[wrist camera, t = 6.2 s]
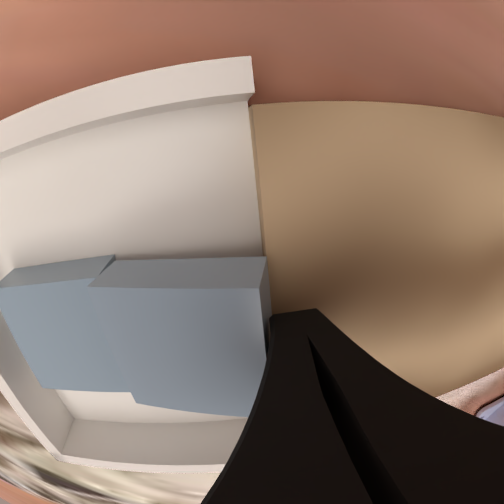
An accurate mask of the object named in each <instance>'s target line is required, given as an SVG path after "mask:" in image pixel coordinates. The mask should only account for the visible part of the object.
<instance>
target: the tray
mask: <svg viewBox="0 0 504 504" xmlns="http://www.w3.org/2000/svg"><path fill="white" fill-rule="evenodd" d="M254 93H255V88H254V79H253V69H252V60H251V56H242V57H231V58H222V59H214V60H206V61H199V62H192V63H186V64H180V65H174V66H169V67H163V68H158V69H154V70H149V71H144V72H140V73H136V74H131V75H127V76H123V77H119V78H116V79H112V80H108V81H105V82H101V83H98V84H94V85H91V86H88V87H85V88H82V89H79V90H75V91H73V92H70V93H67V94H64V95H61V96H58V97H55V98H53V99H50V100H47V101H45V102H42V103H40V104H37V105H35V106H32V107H30V108H28V109H25V110H23V111H21V112H18V113H16V114H14V115H12V116H9V117H7V118H5V119H3V120H1V121H0V281H1V280H2V279H3V278H4V277H5V276H6V275H7V274H8V273H10V272H11V271H12V270H13V269H14V268H21V267H28V266H35V265H41V264H48V263H55V262H62V261H69V260H76V259H84V258H91V257H98V256H105V255H113V254H115V258H116V260H154V259H191V258H226V257H260V256H263V252H262V242H261V231H260V221H259V210H258V200H257V190H256V179H255V169H254V159H253V150H252V140H251V130H250V120H249V111H248V100H249V99H250V97H251V96H252V95H253V94H254ZM0 391H1V392H2V394H3V395H4V397H5V398H6V399H7V401H8V402H9V404H10V405H11V406H12V408H13V409H14V410H15V412H16V413H17V414H18V416H19V417H20V418H21V420H22V421H23V422H24V423H25V425H26V426H27V427H28V428H29V430H30V431H31V432H32V433H33V434H34V436H35V437H36V438H37V439H38V440H39V441H40V443H41V444H42V445H43V446H44V447H45V448H46V449H47V450H48V451H49V453H50V454H51V455H52V456H53V457H54V458H55V459H56V460H57V461H62V462H67V463H72V464H78V465H84V466H90V467H97V468H105V469H113V470H123V471H135V472H150V473H219V472H222V470H223V468H224V466H225V465H226V463H227V461H228V459H229V457H230V455H231V453H232V451H233V449H234V447H235V446H236V444H237V442H238V440H239V438H240V435H241V433H242V431H243V429H244V426H245V424H246V422H247V420H248V417H238V416H225V415H214V414H205V413H196V412H188V411H180V410H173V409H167V408H161V407H155V406H149V405H143V404H138V403H136V402H135V400H134V398H133V396H132V394H131V392H92V391H73V390H59V389H47V388H42V386H41V385H40V383H39V382H38V380H37V378H36V377H35V375H34V373H33V372H32V370H31V368H30V367H29V365H28V363H27V361H26V360H25V358H24V356H23V354H22V352H21V351H20V349H19V347H18V345H17V343H16V341H15V339H14V337H13V335H12V333H11V331H10V329H9V327H8V325H7V323H6V321H5V319H4V317H3V315H2V312H1V310H0Z"/></svg>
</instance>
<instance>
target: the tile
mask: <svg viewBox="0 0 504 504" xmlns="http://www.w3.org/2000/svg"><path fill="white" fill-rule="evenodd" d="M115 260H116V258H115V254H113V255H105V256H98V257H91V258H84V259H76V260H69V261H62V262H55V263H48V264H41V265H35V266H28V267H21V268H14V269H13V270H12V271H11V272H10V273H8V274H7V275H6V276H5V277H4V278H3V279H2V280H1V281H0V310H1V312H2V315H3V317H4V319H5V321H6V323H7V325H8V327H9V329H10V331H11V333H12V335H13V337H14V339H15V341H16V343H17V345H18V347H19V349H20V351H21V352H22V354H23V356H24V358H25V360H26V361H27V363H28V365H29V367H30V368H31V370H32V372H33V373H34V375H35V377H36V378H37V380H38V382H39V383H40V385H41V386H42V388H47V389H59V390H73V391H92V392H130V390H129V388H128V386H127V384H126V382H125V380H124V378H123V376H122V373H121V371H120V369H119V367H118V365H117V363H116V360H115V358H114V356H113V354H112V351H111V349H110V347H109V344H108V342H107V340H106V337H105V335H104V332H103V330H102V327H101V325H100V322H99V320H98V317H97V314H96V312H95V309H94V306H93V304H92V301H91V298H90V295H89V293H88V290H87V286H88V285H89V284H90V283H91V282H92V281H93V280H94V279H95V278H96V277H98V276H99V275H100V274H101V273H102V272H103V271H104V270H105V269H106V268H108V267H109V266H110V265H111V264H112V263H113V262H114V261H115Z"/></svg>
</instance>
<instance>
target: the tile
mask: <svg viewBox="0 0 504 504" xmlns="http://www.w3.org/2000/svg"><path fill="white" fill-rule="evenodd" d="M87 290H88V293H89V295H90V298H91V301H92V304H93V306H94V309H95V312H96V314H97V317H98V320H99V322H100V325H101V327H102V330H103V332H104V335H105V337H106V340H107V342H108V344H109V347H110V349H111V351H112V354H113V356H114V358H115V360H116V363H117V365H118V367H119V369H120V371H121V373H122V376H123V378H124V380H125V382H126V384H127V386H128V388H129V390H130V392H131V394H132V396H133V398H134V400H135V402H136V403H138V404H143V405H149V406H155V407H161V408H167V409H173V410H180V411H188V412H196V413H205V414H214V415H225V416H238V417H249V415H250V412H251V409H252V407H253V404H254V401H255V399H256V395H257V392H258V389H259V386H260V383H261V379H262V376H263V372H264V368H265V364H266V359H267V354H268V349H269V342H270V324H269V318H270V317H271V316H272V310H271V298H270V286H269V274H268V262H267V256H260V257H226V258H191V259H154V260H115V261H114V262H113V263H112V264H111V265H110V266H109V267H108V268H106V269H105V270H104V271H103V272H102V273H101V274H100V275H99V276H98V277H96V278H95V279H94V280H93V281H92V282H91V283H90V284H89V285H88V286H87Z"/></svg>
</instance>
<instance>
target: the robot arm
mask: <svg viewBox="0 0 504 504" xmlns="http://www.w3.org/2000/svg"><path fill="white" fill-rule="evenodd" d="M269 324H270V342H269V349H268V354H267V359H266V364H265V368H264V372H263V376H262V379H261V383H260V386H259V389H258V392H257V395H256V399H255V401H254V404H253V407H252V409H251V412H250V415H249V417H248V420H247V422H246V424H245V426H244V429H243V431H242V433H241V435H240V438H239V440H238V442H237V444H236V446H235V447H234V449H233V451H232V453H231V455H230V457H229V459H228V461H227V463H226V465H225V466H224V468H223V470H222V472H221V473H220V475H219V477H218V478H217V480H216V481H215V483H214V484H213V486H212V487H211V489H210V490H209V492H208V493H207V495H206V496H205V498H204V499H203V501H202V502H201V504H504V397H502V398H500V399H499V400H497V401H495V402H493V403H491V404H489V405H487V406H485V407H484V408H482V409H481V410H480V411H479V412H478V413H477V415H476V416H473V415H471V414H469V413H466V412H464V411H462V410H460V409H457V408H455V407H453V406H451V405H449V404H447V403H445V402H443V401H441V400H439V399H437V398H435V397H433V396H431V395H429V394H428V393H426V392H424V391H422V390H421V389H419V388H417V387H416V386H414V385H412V384H410V383H409V382H407V381H406V380H404V379H403V378H401V377H399V376H398V375H397V374H395V373H394V372H392V371H391V370H390V369H388V368H387V367H385V366H384V365H383V364H381V363H380V362H379V361H377V360H376V359H375V358H373V357H372V356H371V355H370V354H368V353H367V352H366V351H365V350H363V349H362V348H361V347H360V346H359V345H357V344H356V343H355V342H354V341H353V340H351V339H350V338H349V337H348V336H347V335H346V334H345V333H343V332H342V331H341V330H340V329H339V328H338V327H337V326H336V325H335V324H333V323H332V322H331V321H330V320H329V319H328V318H327V317H326V316H325V315H324V314H323V313H322V312H320V311H319V310H318V309H317V308H313V309H307V310H300V311H293V312H286V313H279V314H273V315H272V316H271V317H270V318H269Z"/></svg>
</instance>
